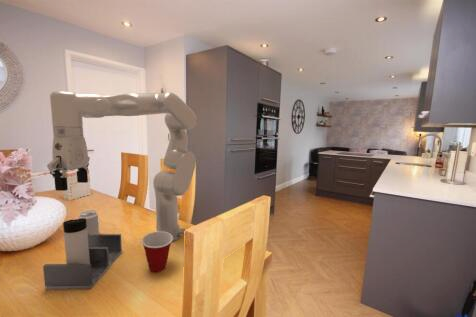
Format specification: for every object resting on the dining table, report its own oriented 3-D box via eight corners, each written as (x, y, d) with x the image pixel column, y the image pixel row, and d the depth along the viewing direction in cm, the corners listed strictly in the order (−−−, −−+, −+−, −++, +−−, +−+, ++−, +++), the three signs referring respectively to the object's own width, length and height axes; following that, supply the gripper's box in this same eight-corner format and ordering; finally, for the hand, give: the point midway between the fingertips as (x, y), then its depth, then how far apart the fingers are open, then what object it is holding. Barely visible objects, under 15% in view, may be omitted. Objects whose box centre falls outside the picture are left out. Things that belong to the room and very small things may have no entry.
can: (89, 241, 100) (87, 216, 98) (75, 239, 101) (73, 214, 100) (102, 233, 107) (101, 210, 105) (89, 232, 108) (88, 208, 107)
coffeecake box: (84, 193, 168) (83, 168, 165) (91, 195, 165) (89, 169, 162) (62, 199, 154) (60, 171, 151) (69, 200, 151) (67, 172, 149)
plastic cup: (155, 282, 75) (154, 248, 73) (135, 270, 80) (134, 239, 79) (179, 265, 84) (179, 235, 82) (160, 256, 90) (159, 228, 88)
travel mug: (66, 283, 71) (60, 225, 69) (70, 272, 77) (65, 217, 74) (89, 278, 74) (84, 221, 71) (91, 267, 80) (87, 214, 77)
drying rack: (121, 252, 92) (121, 234, 91) (90, 288, 71) (89, 265, 70) (87, 252, 91) (85, 234, 90) (45, 289, 70) (43, 266, 69)
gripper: (60, 133, 61) (65, 194, 63) (97, 132, 78) (100, 180, 80) (32, 133, 61) (38, 193, 63) (75, 132, 78) (78, 179, 80)
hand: (72, 186), depth 72 cm, fingers open, 9 cm apart
